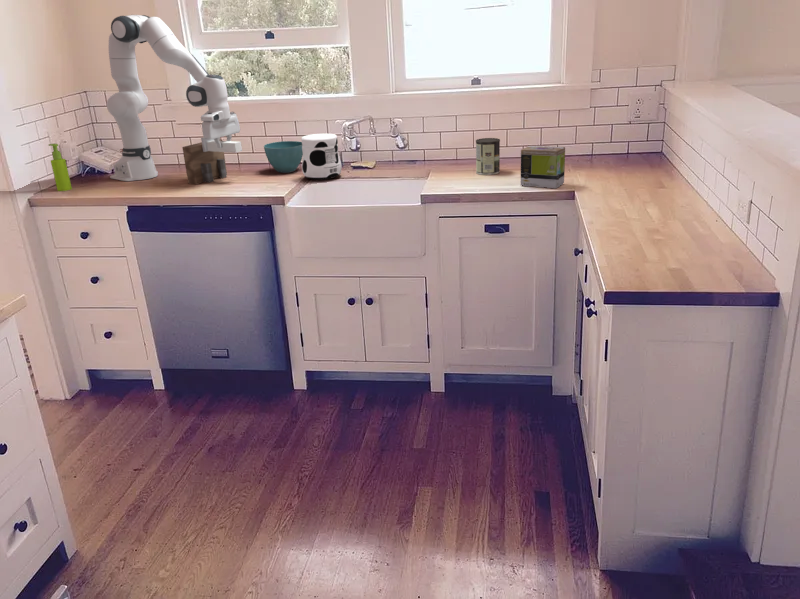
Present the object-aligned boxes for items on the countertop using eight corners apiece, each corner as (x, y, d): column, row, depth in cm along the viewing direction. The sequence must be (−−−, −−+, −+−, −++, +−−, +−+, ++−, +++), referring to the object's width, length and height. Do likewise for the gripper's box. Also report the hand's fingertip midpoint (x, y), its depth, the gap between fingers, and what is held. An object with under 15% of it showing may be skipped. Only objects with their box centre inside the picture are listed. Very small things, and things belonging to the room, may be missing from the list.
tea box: (564, 183, 278) (566, 146, 273) (556, 189, 271) (557, 151, 265) (528, 180, 286) (529, 144, 280) (519, 186, 278) (520, 148, 272)
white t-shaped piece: (203, 151, 308) (201, 137, 305) (214, 148, 314) (212, 135, 311) (233, 153, 300) (231, 139, 298) (244, 150, 306) (243, 136, 304)
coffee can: (492, 169, 309) (492, 136, 304) (504, 173, 301) (504, 140, 295) (471, 171, 306) (471, 139, 301) (482, 176, 297) (482, 142, 292)
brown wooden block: (188, 183, 310) (182, 147, 304) (218, 173, 326) (213, 139, 320) (202, 184, 306) (196, 147, 300) (232, 175, 322) (227, 139, 316)
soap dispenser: (66, 187, 314) (56, 142, 307) (74, 188, 310) (64, 143, 302) (53, 189, 310) (43, 144, 302) (61, 191, 306) (50, 145, 298)
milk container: (309, 173, 318) (305, 133, 311) (346, 173, 315) (343, 132, 308) (298, 182, 303) (293, 140, 296) (336, 182, 299) (333, 139, 293)
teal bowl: (314, 168, 327) (311, 142, 323) (286, 176, 314) (283, 149, 309) (286, 165, 338) (284, 139, 333) (258, 172, 324) (255, 146, 320)
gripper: (230, 110, 310) (234, 142, 316) (197, 117, 294) (202, 150, 299) (241, 111, 308) (245, 142, 313) (209, 117, 291) (214, 151, 296)
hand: (224, 146), depth 306 cm, fingers closed on white t-shaped piece, 4 cm apart
